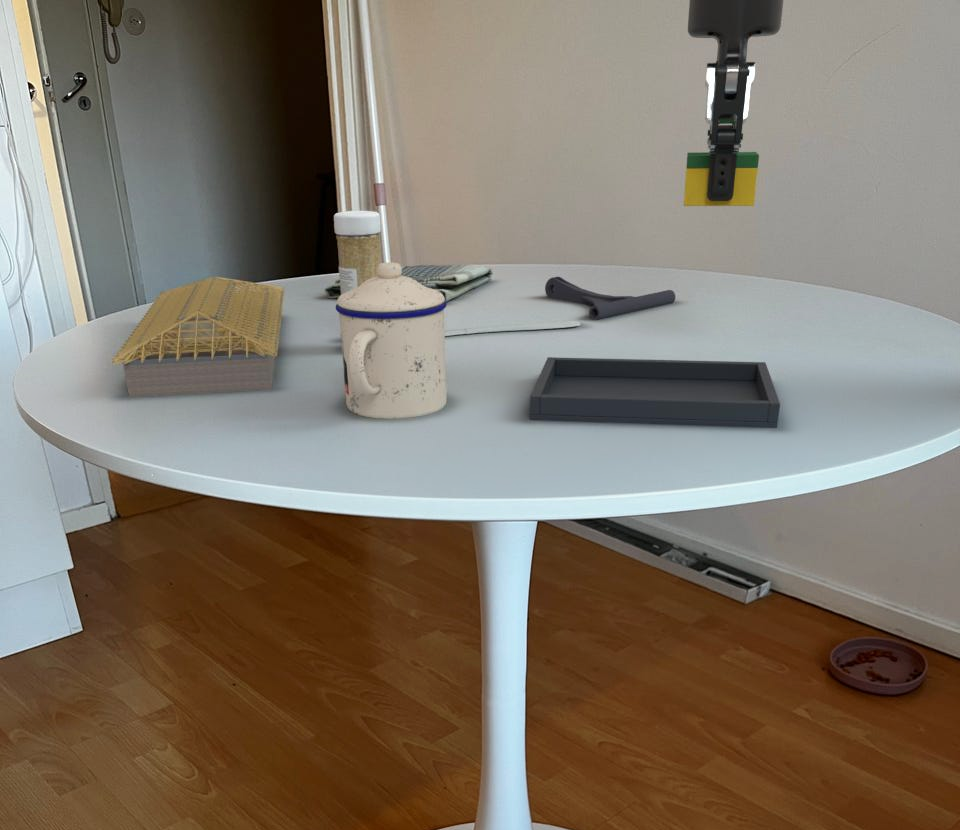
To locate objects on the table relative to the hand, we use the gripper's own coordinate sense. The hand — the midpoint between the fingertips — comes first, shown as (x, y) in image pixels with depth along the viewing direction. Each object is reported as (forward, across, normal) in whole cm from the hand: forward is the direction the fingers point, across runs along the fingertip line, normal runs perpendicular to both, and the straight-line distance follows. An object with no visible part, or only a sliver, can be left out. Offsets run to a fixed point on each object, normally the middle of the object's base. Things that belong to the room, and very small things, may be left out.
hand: (718, 196), depth 89 cm
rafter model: (+15, 0, +50) cm, 53 cm away
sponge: (+1, 0, 0) cm, 1 cm away
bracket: (+15, +31, +13) cm, 37 cm away
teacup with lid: (+15, -18, +26) cm, 35 cm away
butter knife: (+15, +12, +26) cm, 32 cm away
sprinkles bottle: (+15, +4, +35) cm, 38 cm away
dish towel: (+15, +39, +38) cm, 57 cm away
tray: (+15, -13, +4) cm, 20 cm away
